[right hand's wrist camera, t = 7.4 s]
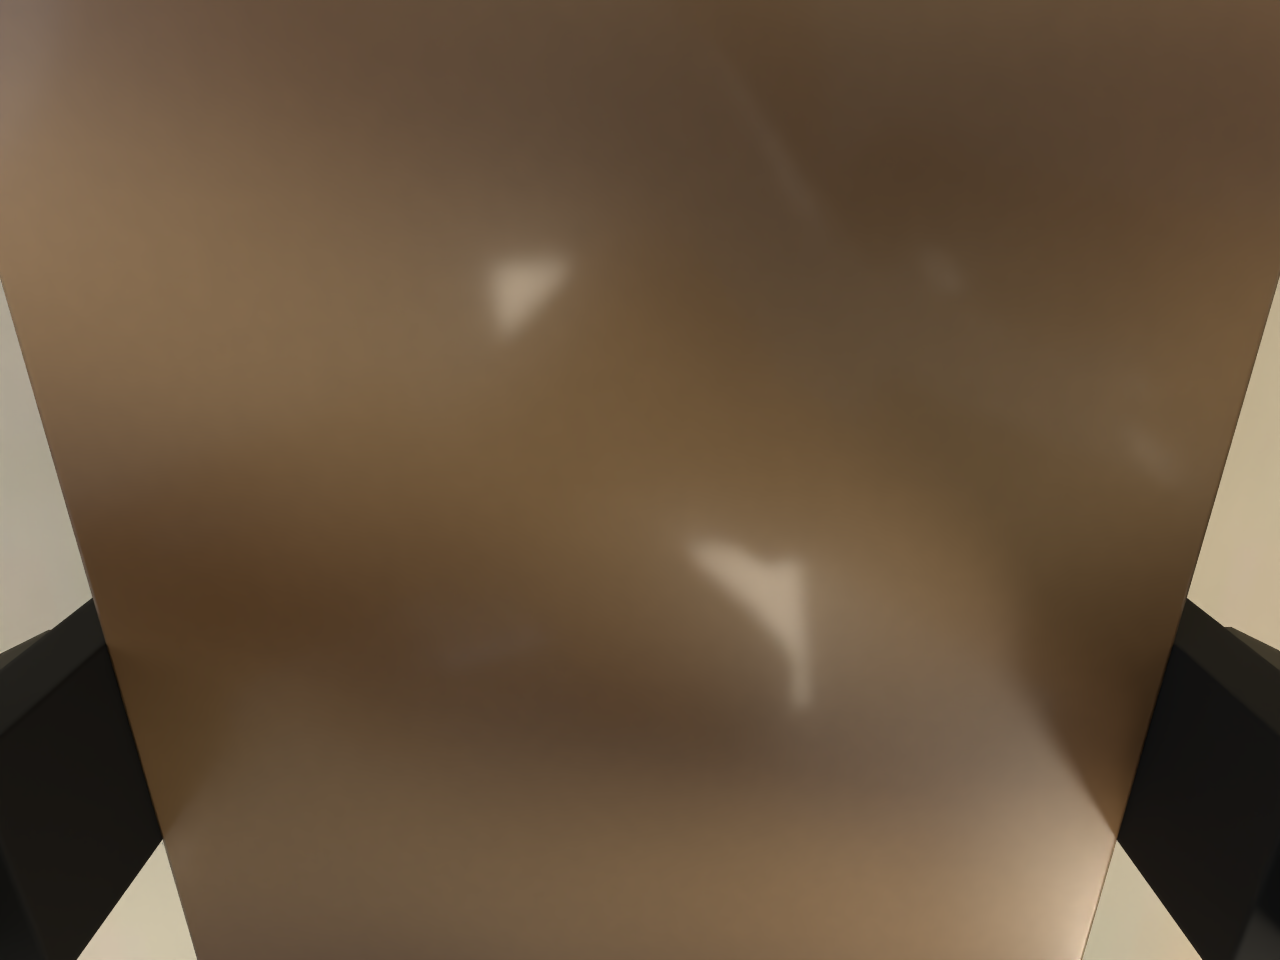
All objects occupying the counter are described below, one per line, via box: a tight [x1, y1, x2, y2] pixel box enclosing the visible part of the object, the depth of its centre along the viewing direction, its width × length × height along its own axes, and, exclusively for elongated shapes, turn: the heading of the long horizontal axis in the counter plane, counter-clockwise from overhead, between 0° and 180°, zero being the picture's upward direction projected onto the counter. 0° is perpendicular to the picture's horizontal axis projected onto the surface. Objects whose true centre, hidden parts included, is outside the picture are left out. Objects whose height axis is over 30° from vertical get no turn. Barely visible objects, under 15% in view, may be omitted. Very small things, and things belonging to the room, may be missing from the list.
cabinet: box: [0, 0, 1280, 960], centre depth 10 cm, size 21×11×8 cm, turn 0°
